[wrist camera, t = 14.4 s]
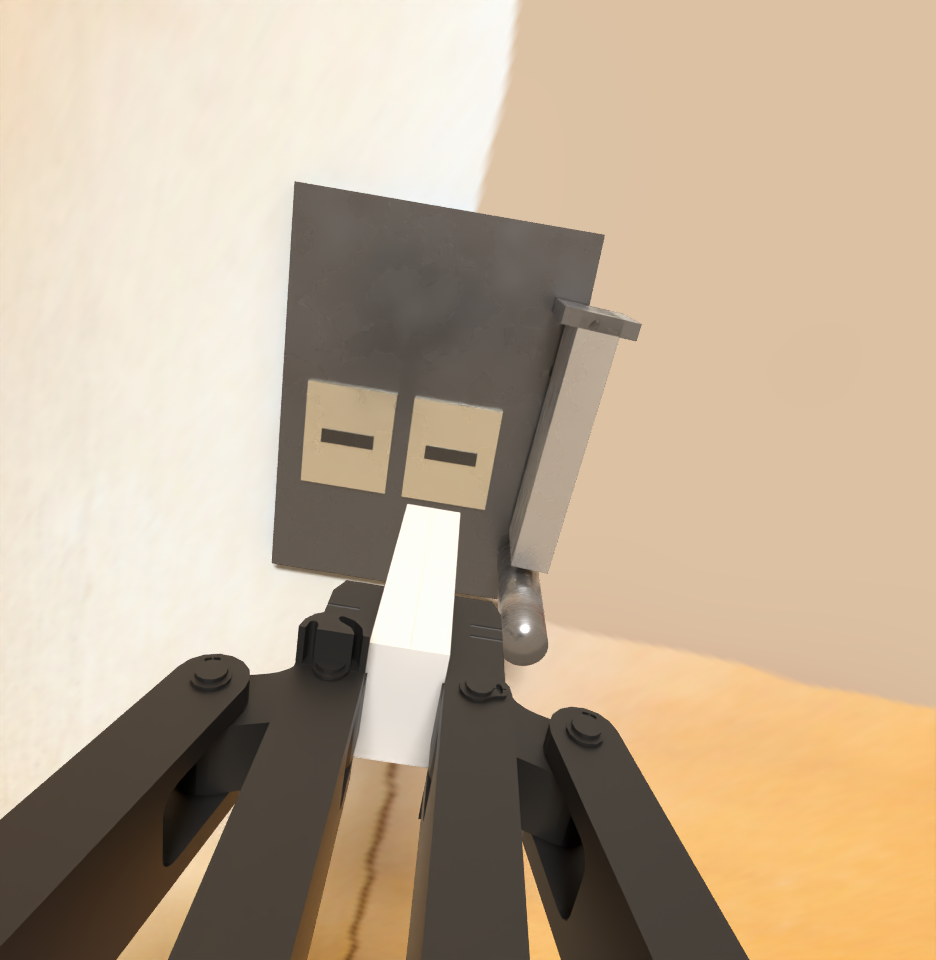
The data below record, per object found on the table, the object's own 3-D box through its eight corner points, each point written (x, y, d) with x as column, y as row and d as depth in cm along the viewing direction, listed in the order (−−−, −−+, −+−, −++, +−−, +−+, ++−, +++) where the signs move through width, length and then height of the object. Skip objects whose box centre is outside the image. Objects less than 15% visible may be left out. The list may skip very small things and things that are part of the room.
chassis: (276, 555, 41) (213, 648, 32) (300, 183, 34) (225, 160, 24) (525, 595, 42) (535, 698, 32) (605, 235, 34) (648, 233, 25)
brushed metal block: (554, 540, 38) (562, 576, 34) (496, 527, 38) (496, 562, 34) (623, 314, 34) (641, 324, 30) (556, 297, 34) (566, 306, 29)
